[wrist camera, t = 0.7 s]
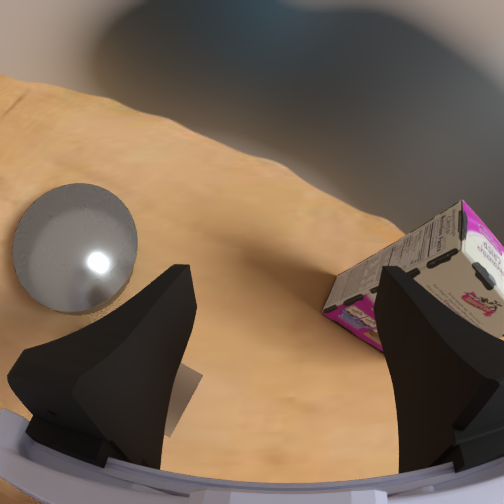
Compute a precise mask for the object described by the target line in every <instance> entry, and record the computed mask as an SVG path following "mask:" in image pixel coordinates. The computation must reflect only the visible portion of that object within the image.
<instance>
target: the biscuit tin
mask: <svg viewBox="0 0 504 504" xmlns="http://www.w3.org/2000/svg"><path fill="white" fill-rule="evenodd" d="M137 240H138V239H137V231H136V227H135V223H134V220H133V218H132V215H131V214H130V212H129V210H128V208H127V207H126V206H125V205H124V203H123V202H122V201H121V200H120V199H119V198H118V197H117V196H115V195H114V194H113V193H111V192H109V191H108V190H106V189H104V188H101V187H99V186H95V185H91V184H84V183H75V184H68V185H64V186H60V187H57V188H55V189H52V190H50V191H49V192H47V193H45V194H44V195H42V196H41V197H39V198H38V199H37V200H36V201H35V202H34V203H33V204H32V205H31V206H30V207H29V208H28V209H27V211H26V212H25V213H24V215H23V217H22V218H21V220H20V222H19V224H18V227H17V229H16V232H15V236H14V241H13V254H12V255H13V264H14V268H15V272H16V274H17V277H18V279H19V281H20V283H21V285H22V286H23V288H24V289H25V290H26V292H27V293H28V294H29V295H30V296H31V297H32V298H33V299H35V300H36V301H37V302H39V303H40V304H42V305H44V306H46V307H48V308H50V309H53V310H55V311H57V312H60V313H63V314H68V315H87V314H91V313H94V312H97V311H99V310H102V309H103V308H105V307H107V306H108V305H110V304H111V303H112V302H113V301H115V300H116V299H117V298H118V297H119V296H120V295H121V293H122V292H123V291H124V289H125V288H126V286H127V284H128V282H129V280H130V278H131V275H132V272H133V268H134V263H135V260H136V255H137Z"/></svg>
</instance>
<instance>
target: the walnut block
mask: <svg viewBox="0 0 504 504" xmlns="http://www.w3.org/2000/svg"><path fill="white" fill-rule="evenodd" d="M202 377H203V375H202V374H200V373H198V372H196V371H194V370H193V369H191V368H189V367H187V366H185V365H184V364H182V363H180V366H179V368H178V371H177V374H176V377H175V381H174V384H173V389H172V393H171V398H170V402H169V408H168V413H167V419H166V424H165V431H164V435H166V436H168V437H170V436H171V434H172V432H173V431H174V429H175V427H176V425H177V423H178V421H179V420H180V418H181V416H182V414H183V412H184V410H185V408H186V407H187V405H188V403H189V401H190V399H191V397H192V395H193V393H194V392H195V390H196V388H197V386H198V384H199V382H200V380H201V378H202Z"/></svg>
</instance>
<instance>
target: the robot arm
mask: <svg viewBox="0 0 504 504" xmlns="http://www.w3.org/2000/svg"><path fill="white" fill-rule="evenodd" d="M196 310H197V304H196V299H195V293H194V288H193V282H192V277H191V271H190V265H183V264H174V265H173V266H171V267H170V268H169V269H167V270H166V271H165V272H164V273H162V274H161V275H160V276H159V277H157V278H156V279H155V280H154V281H153V282H151V283H150V284H149V285H148V286H146V287H145V288H144V289H143V290H141V291H140V292H139V293H138V294H136V295H135V296H134V297H132V298H131V299H129V300H128V301H127V302H125V303H124V304H123V305H121V306H120V307H118V308H117V309H116V310H114V311H112V312H111V313H109V314H108V315H106V316H104V317H103V318H101V319H99V320H98V321H96V322H94V323H92V324H90V325H88V326H86V327H84V328H82V329H80V330H78V331H76V332H74V333H72V334H69V335H67V336H65V337H62V338H59V339H57V340H54V341H51V342H49V343H45V344H42V345H39V346H35V347H32V348H29V349H25V350H24V351H23V352H22V354H21V355H20V357H19V358H18V360H17V361H16V363H15V364H14V366H13V367H12V369H11V370H10V372H9V373H8V375H7V379H8V383H9V385H10V387H11V389H12V390H13V392H14V393H15V395H16V396H17V397H18V398H19V399H20V401H21V402H22V403H23V404H24V405H25V406H26V408H27V409H28V410H29V411H30V412H31V413H32V414H33V417H32V419H31V421H28V420H27V419H26V418H24V417H22V416H21V415H19V414H16V413H14V412H12V411H10V410H8V409H6V408H2V410H1V412H0V477H1V478H3V479H4V480H5V481H7V482H8V483H10V484H11V485H13V486H14V487H16V488H17V489H19V490H20V491H22V492H24V493H25V494H27V495H29V496H31V497H32V498H34V499H36V500H38V501H40V502H41V503H43V504H504V341H503V340H501V339H499V338H497V337H495V336H493V335H491V334H489V333H487V332H485V331H483V330H482V329H480V328H478V327H476V326H475V325H473V324H471V323H470V322H468V321H467V320H465V319H464V318H462V317H461V316H459V315H458V314H457V313H455V312H454V311H452V310H451V309H450V308H448V307H447V306H446V305H445V304H443V303H442V302H441V301H439V300H438V299H437V298H436V297H434V296H433V295H432V294H431V293H430V292H428V291H427V290H426V289H425V288H424V287H423V286H421V285H420V284H419V283H418V282H417V281H416V280H414V279H413V278H412V277H411V276H410V275H409V274H407V273H406V272H405V271H404V270H402V269H401V268H400V267H398V266H382V271H381V276H380V280H379V285H378V290H377V294H376V299H375V303H374V307H373V310H374V316H375V322H376V327H377V332H378V335H379V339H380V342H381V345H382V348H383V352H384V355H385V358H386V362H387V365H388V368H389V372H390V375H391V379H392V383H393V388H394V395H395V402H396V410H397V421H398V435H399V474H395V475H388V476H382V477H375V478H367V479H359V480H349V481H337V482H321V483H260V482H243V481H231V480H221V479H212V478H205V477H197V476H191V475H185V474H179V473H173V472H168V471H163V470H160V465H161V454H162V445H163V438H164V431H165V424H166V419H167V413H168V408H169V402H170V398H171V393H172V389H173V384H174V381H175V377H176V374H177V371H178V368H179V366H180V363H181V360H182V357H183V354H184V352H185V349H186V346H187V343H188V340H189V338H190V335H191V332H192V329H193V324H194V320H195V315H196Z"/></svg>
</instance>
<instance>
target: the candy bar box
mask: <svg viewBox="0 0 504 504" xmlns="http://www.w3.org/2000/svg"><path fill="white" fill-rule="evenodd" d="M382 266H398V267H400V268H401V269H402V270H404V271H405V272H406V273H407V274H409V275H410V276H411V277H412V278H413V279H414V280H416V281H417V282H418V283H419V284H420V285H421V286H423V287H424V288H425V289H426V290H427V291H428V292H430V293H431V294H432V295H433V296H434V297H436V298H437V299H438V300H439V301H441V302H442V303H443V304H445V305H446V306H447V307H448V308H450V309H451V310H452V311H454V312H455V313H457V314H458V315H459V316H461V317H462V318H464V319H465V320H467V321H468V322H470V323H471V324H473V325H475V326H476V327H478V328H480V329H482V330H483V331H485V332H487V333H489V334H491V335H493V336H495V337H497V338H500V337H503V336H504V247H503V246H502V245H501V244H500V242H499V241H498V240H497V239H496V237H495V236H494V235H493V234H492V232H491V231H490V230H489V229H488V228H487V227H486V225H485V224H484V223H483V222H482V220H481V219H480V218H479V217H478V216H477V215H476V214H475V213H474V212H473V210H472V209H471V208H470V207H469V206H468V205H467V204H466V203H465V201H464V200H461V201H459V202H457V203H456V204H454V205H453V206H451V207H450V208H448V209H447V210H445V211H444V212H442V213H440V214H439V215H437V216H436V217H435V218H433V219H431V220H430V221H428V222H426V223H425V224H423V225H422V226H420V227H418V228H417V229H415V230H414V231H412V232H410V233H409V234H407V235H405V236H404V237H402V238H400V239H399V240H398V241H396V242H394V243H392V244H391V245H389V246H387V247H386V248H384V249H382V250H380V251H379V252H377V253H376V254H374V255H372V256H370V257H369V258H367V259H365V260H363V261H362V262H360V263H358V264H356V265H355V266H353V267H351V268H350V269H348V270H346V271H344V272H342V273H341V274H339V275H338V276H337V277H336V279H335V281H334V284H333V286H332V290H331V292H330V295H329V297H328V299H327V301H326V303H325V306H324V308H323V310H322V314H323V315H325V316H326V317H328V318H329V319H331V320H332V321H334V322H335V323H337V324H339V325H340V326H342V327H343V328H345V329H347V330H348V331H350V332H351V333H353V334H354V335H356V336H358V337H359V338H361V339H362V340H364V341H365V342H367V343H368V344H370V345H372V346H373V347H375V348H376V349H378V350H379V351H381V352H382V353H384V352H383V348H382V345H381V342H380V339H379V335H378V332H377V327H376V322H375V316H374V310H373V307H374V303H375V299H376V294H377V290H378V285H379V280H380V276H381V271H382Z"/></svg>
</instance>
